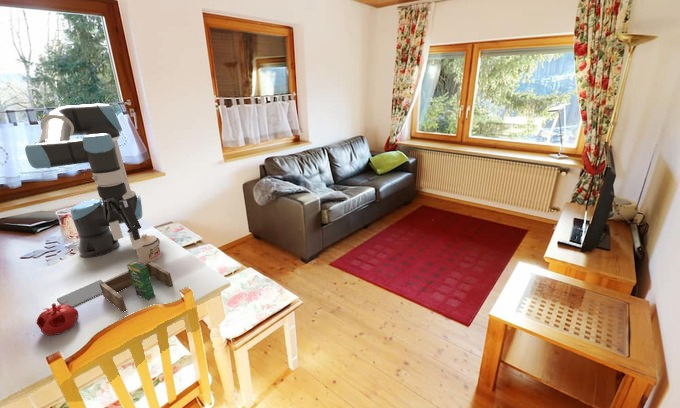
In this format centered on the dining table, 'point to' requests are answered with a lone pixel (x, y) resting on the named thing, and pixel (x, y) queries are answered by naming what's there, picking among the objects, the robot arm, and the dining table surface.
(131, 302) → the dining table surface
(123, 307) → the wooden u-shaped frame
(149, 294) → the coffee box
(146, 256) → the teacup with lid
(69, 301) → the slate mat
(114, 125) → the robot arm
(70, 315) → the red carved pumpkin
